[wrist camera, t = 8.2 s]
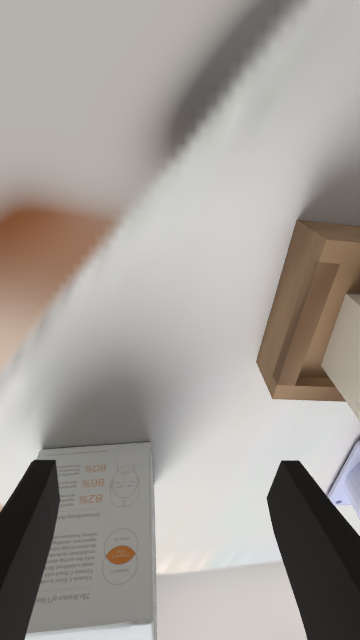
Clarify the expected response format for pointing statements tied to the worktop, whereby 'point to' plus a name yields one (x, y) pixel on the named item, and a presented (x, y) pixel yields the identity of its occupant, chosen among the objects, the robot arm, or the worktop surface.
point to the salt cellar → (346, 352)
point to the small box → (100, 547)
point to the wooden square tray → (309, 310)
